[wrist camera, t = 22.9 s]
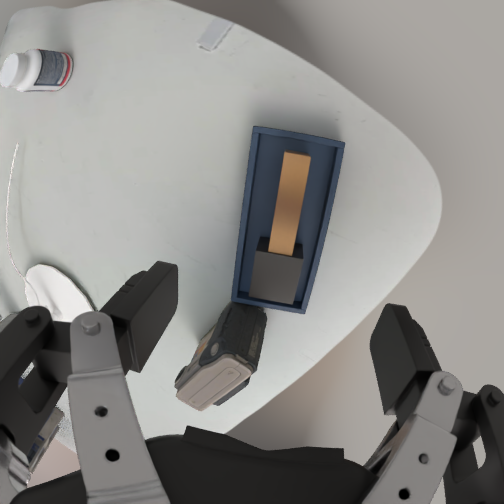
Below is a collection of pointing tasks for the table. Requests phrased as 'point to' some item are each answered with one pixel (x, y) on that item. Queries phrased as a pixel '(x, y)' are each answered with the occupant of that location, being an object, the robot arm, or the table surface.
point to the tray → (264, 202)
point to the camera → (223, 358)
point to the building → (43, 437)
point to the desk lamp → (51, 285)
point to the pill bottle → (36, 70)
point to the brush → (282, 236)
